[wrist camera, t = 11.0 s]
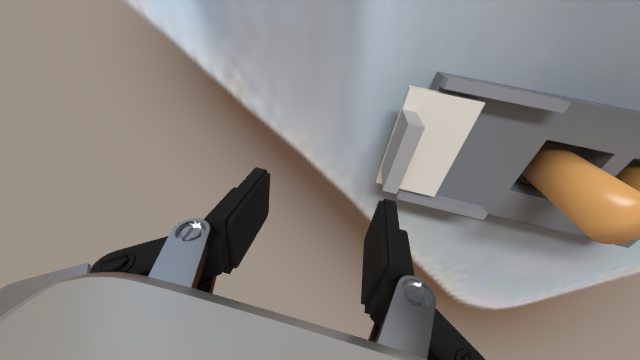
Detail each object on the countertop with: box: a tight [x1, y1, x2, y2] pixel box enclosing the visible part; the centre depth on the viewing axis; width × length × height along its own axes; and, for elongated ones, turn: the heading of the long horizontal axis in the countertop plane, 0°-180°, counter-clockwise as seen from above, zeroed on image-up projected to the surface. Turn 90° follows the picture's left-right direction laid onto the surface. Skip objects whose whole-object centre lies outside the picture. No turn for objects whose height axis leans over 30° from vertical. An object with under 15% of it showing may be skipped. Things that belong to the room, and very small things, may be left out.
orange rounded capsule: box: [521, 143, 640, 244], centre depth 20 cm, size 4×4×9 cm
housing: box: [396, 72, 640, 248], centre depth 22 cm, size 24×12×4 cm, turn 81°
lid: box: [376, 85, 485, 197], centre depth 20 cm, size 6×10×5 cm, turn 171°
